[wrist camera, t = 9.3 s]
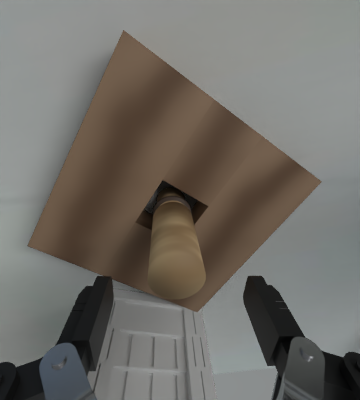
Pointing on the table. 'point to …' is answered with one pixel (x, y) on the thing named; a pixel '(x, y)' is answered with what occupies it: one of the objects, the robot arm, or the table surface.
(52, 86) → the table surface
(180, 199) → the peg
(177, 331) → the castle model
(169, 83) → the board
